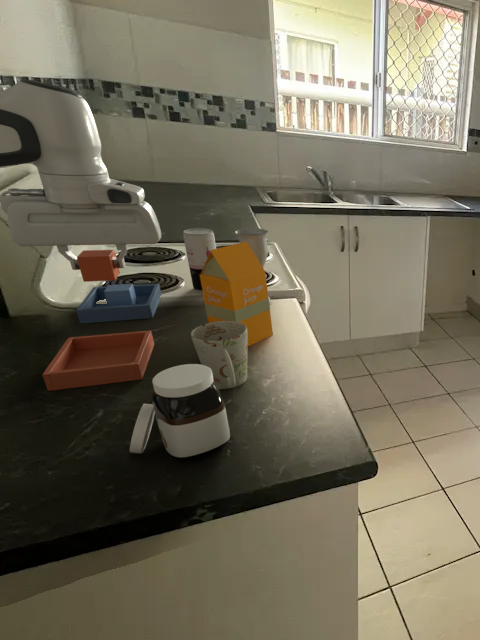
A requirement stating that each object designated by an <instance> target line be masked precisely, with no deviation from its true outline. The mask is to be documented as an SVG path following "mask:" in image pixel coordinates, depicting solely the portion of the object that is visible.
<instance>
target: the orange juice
mask: <svg viewBox="0 0 480 640" xmlns="http://www.w3.org/2000/svg"><path fill="white" fill-rule="evenodd" d="M200 280H201V285H202V290H203V292H202V296H203V300H204V308H205V313H206V318H207V323H211V322H218V321H235V322H240V323H242V324H244V325H245V326H246V327H247V348H248V347H250V346H252V345H254V344H256V343H259V342H261V341H263V340H264V339H267V338H269V337H271V336H273V334H274V333H273V332H274V331H273V324H272V316H271V305H270V304H269V298H270V297H269V298H268V296H269V292H268V284H267V283H268V282H267V275H266V270H265V269H264V267H262V265H261V264H260V262H259V261H258V259H257V257H256V256H255V254H254V253H253V251H252V249H251V248H250V246H249V245H248V243H247V242H243V243H234V244H231V245H226V246H222V247H218V248H217V247H216V249H213V250H210V253H209V256H208V258H207V260H206V263H205V265H204V267H203V270H202V272H201V274H200Z"/></svg>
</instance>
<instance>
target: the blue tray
mask: <svg viewBox="0 0 480 640" xmlns="http://www.w3.org/2000/svg"><path fill="white" fill-rule="evenodd" d="M133 286H134V290H135V294H136V298H137V304H136V305H127V306H112V307H108V305H107V304H96V302H97V301H99V300H104V299H106V298H105V294H104V291H105V289H106V288H107V286H93V287H92V288H91V290H90V291H89V293H88V294H87V295H86V296H85V298H84V299H83V301H82V302H81V303H80V305H78V307H77V308H76V310H75V311H76V315H77V317H78V320H79V324H93V323H94V324H95V323H105V322H106V323H107V322H118V321H133V320H144V319H153V318H154V316H155V314H156V312H157V309H158V306H159V304H160V301H161V299H160V296H161V295H162V291H161V287H160V283H152V284H151V283H149V284H147V283H146V284H133ZM161 297H162V296H161Z"/></svg>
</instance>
